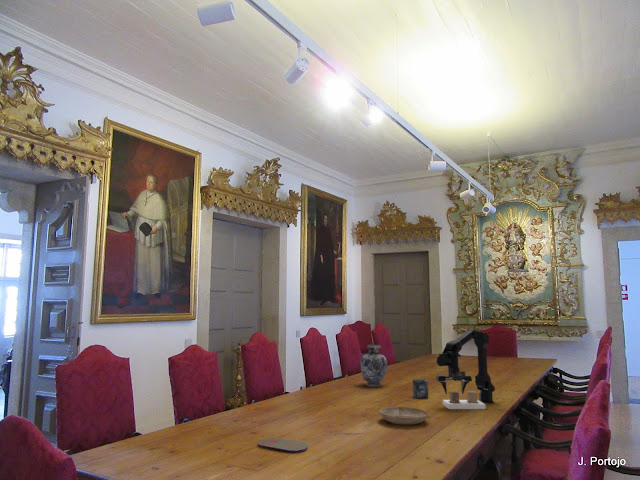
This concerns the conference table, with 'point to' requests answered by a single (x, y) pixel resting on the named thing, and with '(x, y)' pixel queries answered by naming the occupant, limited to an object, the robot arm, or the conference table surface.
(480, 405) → the white block with holes
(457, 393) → the beige rectangular block
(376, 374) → the decorative vase
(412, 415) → the ceramic bowl
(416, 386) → the box
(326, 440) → the conference table surface
